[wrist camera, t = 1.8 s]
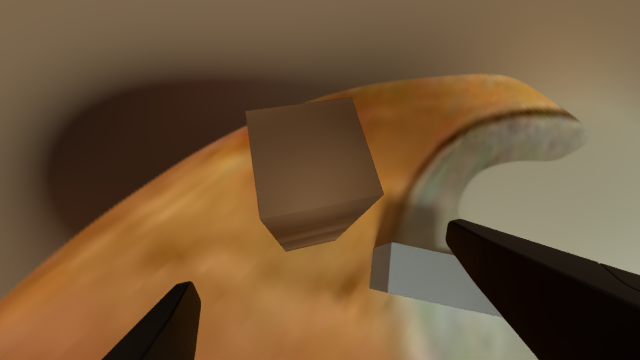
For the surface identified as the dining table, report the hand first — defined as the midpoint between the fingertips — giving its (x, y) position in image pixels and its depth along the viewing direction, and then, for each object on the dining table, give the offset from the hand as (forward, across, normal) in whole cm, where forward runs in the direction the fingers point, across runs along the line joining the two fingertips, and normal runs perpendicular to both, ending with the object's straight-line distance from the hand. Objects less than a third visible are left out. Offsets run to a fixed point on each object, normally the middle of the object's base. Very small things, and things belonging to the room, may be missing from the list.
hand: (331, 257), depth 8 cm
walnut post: (+10, 0, +5) cm, 11 cm away
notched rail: (+4, -12, +11) cm, 16 cm away
